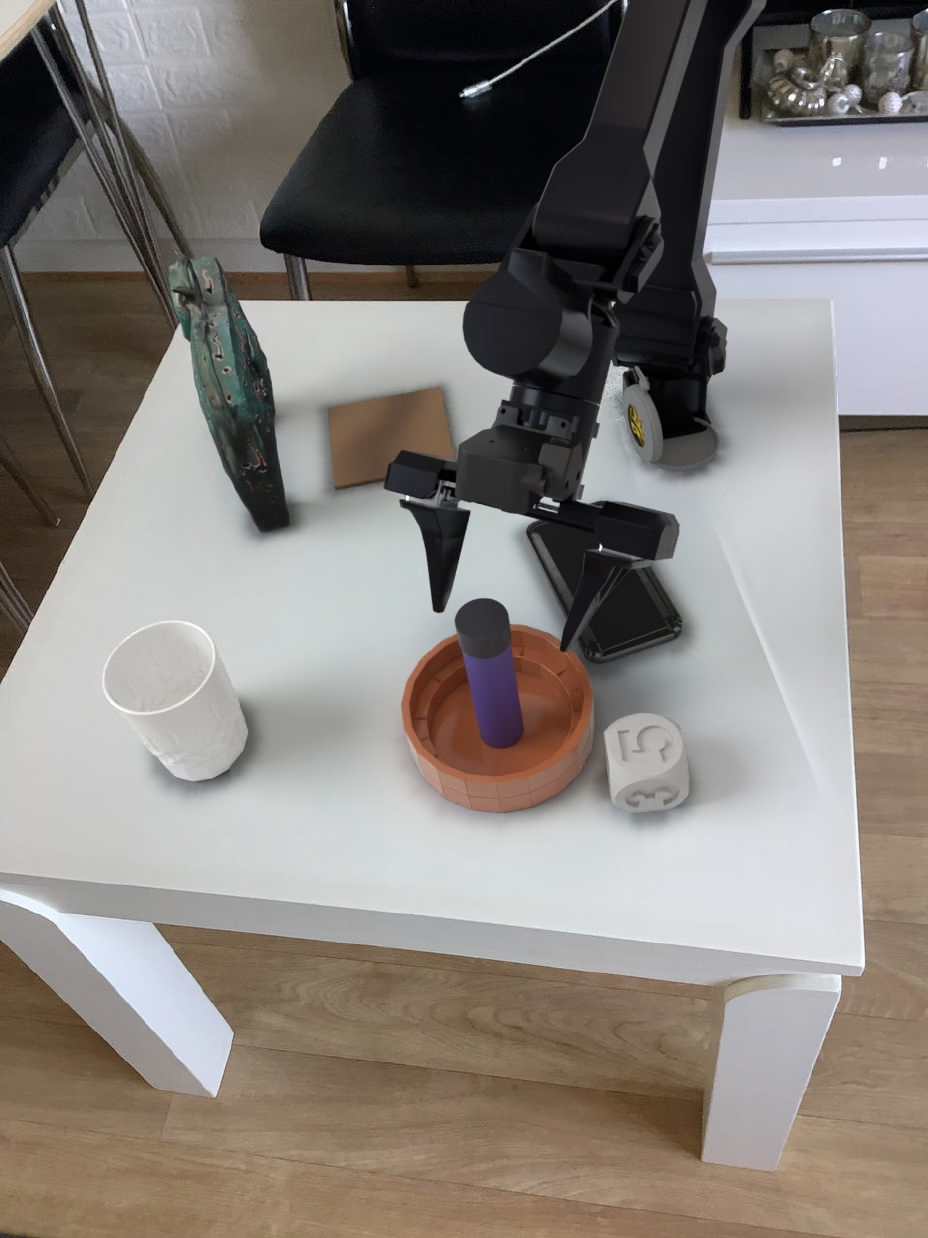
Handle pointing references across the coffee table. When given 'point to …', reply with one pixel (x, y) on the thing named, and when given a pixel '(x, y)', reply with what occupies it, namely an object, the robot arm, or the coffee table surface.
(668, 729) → the die
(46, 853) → the coffee table surface
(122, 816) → the coffee table surface
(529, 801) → the bowl
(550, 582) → the phone
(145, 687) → the white cup
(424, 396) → the coaster
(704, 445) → the pocket watch
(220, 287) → the green weathered sculpture
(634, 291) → the robot arm
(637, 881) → the coffee table surface
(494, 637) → the glue stick
